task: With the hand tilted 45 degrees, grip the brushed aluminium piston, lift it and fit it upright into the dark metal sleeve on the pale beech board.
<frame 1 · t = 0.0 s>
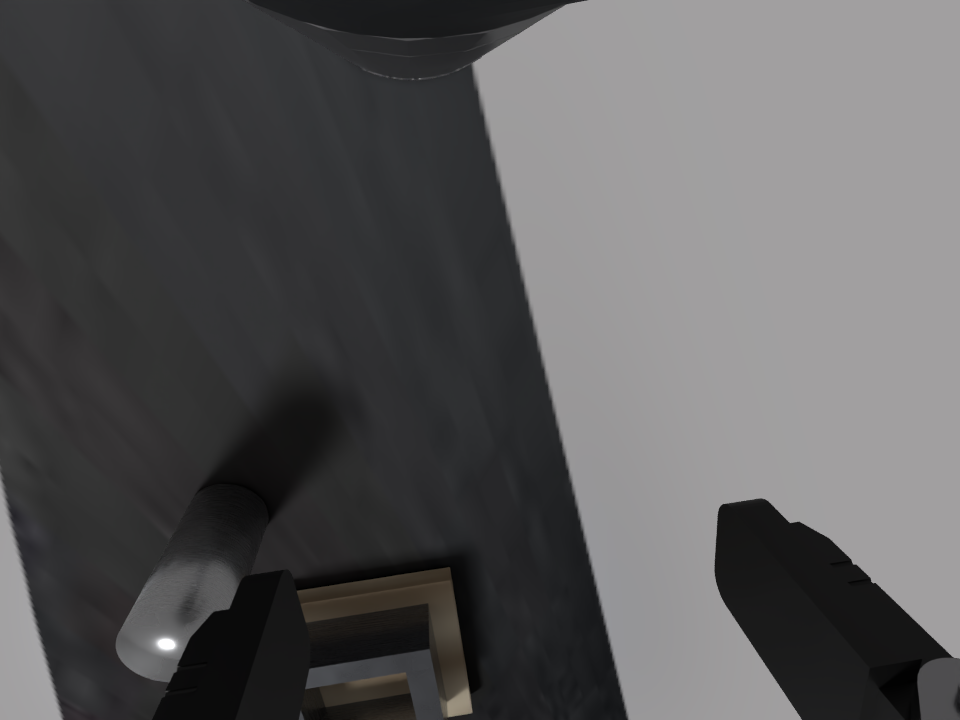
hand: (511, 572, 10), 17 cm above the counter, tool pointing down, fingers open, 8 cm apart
piston: (229, 514, 30), on the counter
sleeve: (364, 667, 34), resting on board
board: (365, 653, 35), on the counter
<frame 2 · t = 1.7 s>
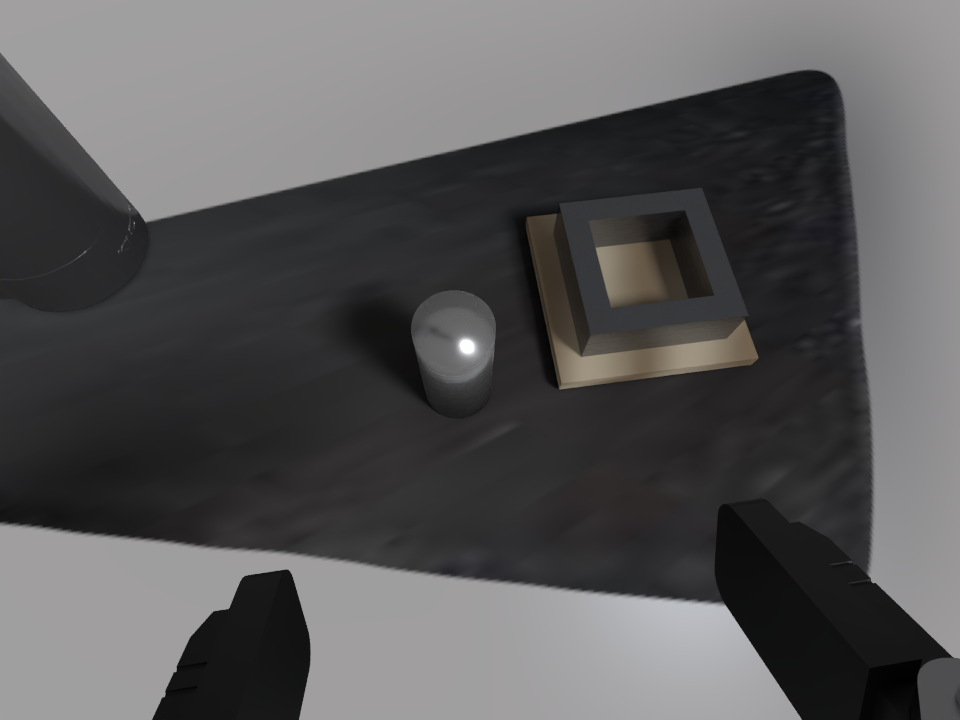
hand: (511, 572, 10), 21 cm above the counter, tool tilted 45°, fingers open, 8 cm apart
piston: (458, 386, 34), on the counter
sleeve: (636, 283, 36), resting on board
board: (632, 291, 37), on the counter
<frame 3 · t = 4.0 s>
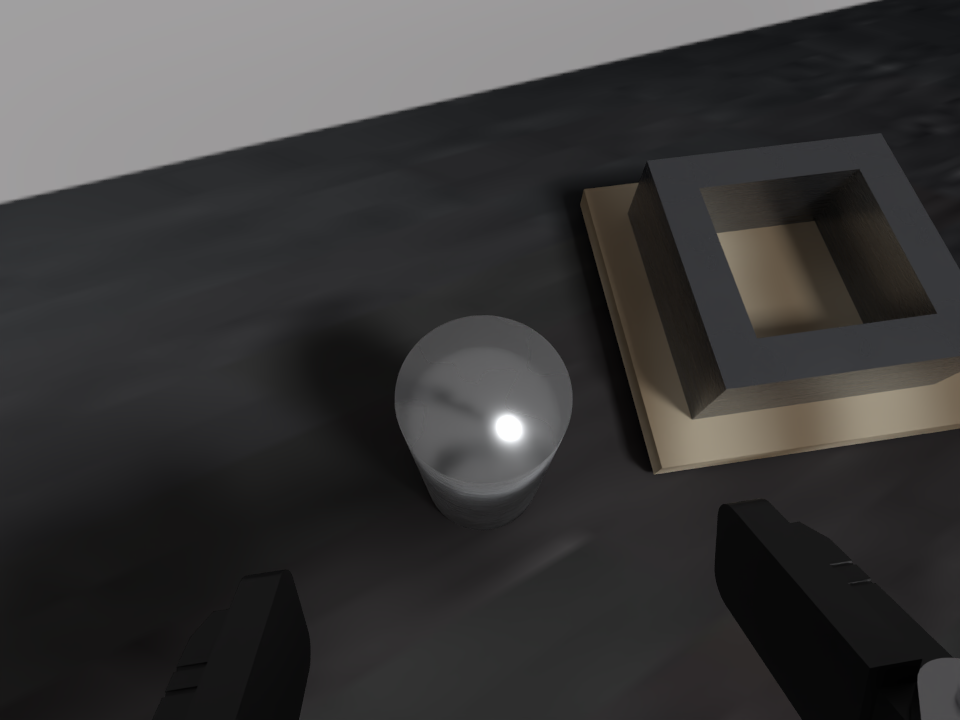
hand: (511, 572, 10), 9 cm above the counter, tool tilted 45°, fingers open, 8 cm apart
piston: (482, 471, 20), on the counter
sleeve: (770, 292, 22), resting on board
board: (758, 305, 23), on the counter
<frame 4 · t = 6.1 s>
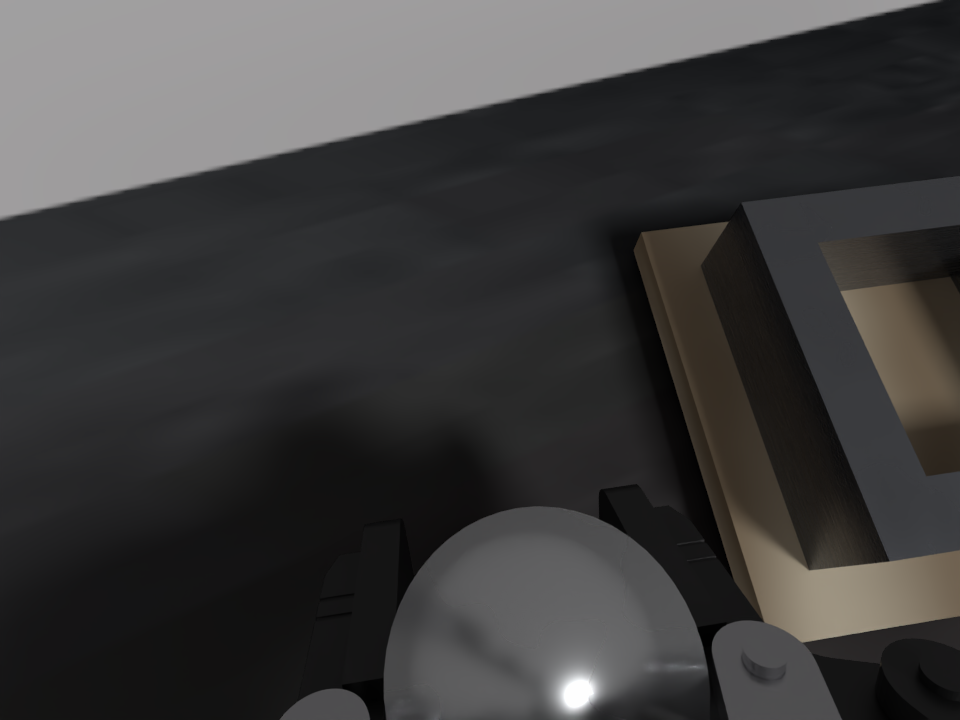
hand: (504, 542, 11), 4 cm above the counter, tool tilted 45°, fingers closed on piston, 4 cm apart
piston: (510, 638, 14), on the counter, touching gripper
sleeve: (901, 379, 16), resting on board
board: (878, 391, 17), on the counter
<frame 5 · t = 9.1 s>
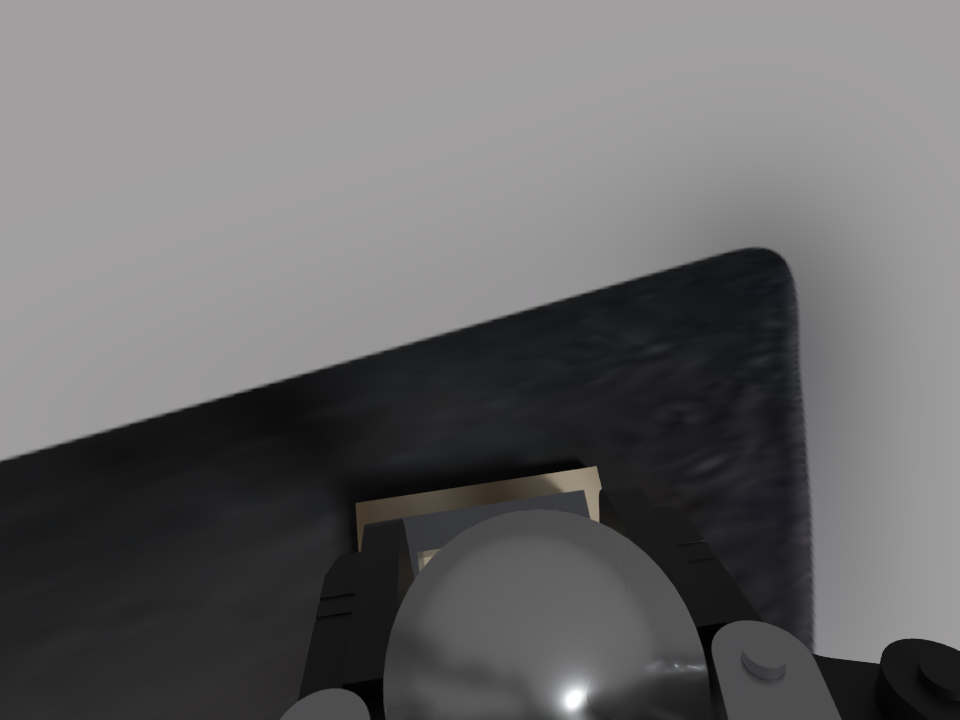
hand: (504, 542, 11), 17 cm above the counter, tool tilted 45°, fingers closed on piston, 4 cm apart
piston: (511, 640, 14), point 13 cm above the counter, touching gripper
sleeve: (497, 616, 25), resting on board
board: (496, 616, 26), on the counter
when the fingers open (6 cm above the counter, at t = 12.0 s): piston drops 1 cm, resting on board.
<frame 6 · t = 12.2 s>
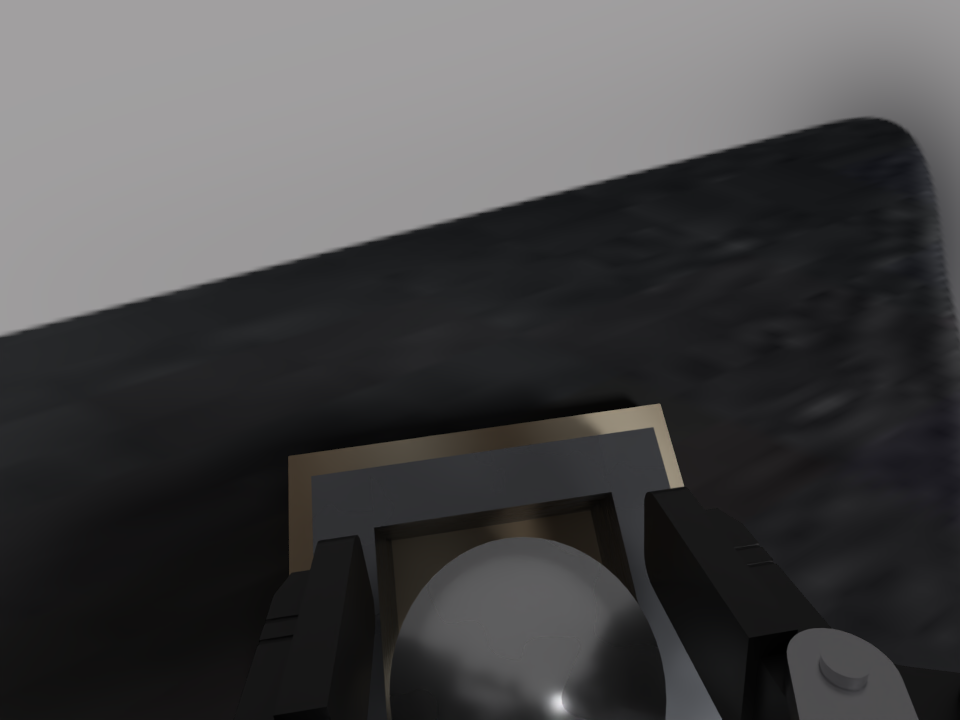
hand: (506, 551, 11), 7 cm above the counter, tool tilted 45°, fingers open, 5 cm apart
piston: (506, 643, 16), point 1 cm above the counter, touching board
sleeve: (508, 636, 16), resting on board
board: (507, 634, 17), on the counter
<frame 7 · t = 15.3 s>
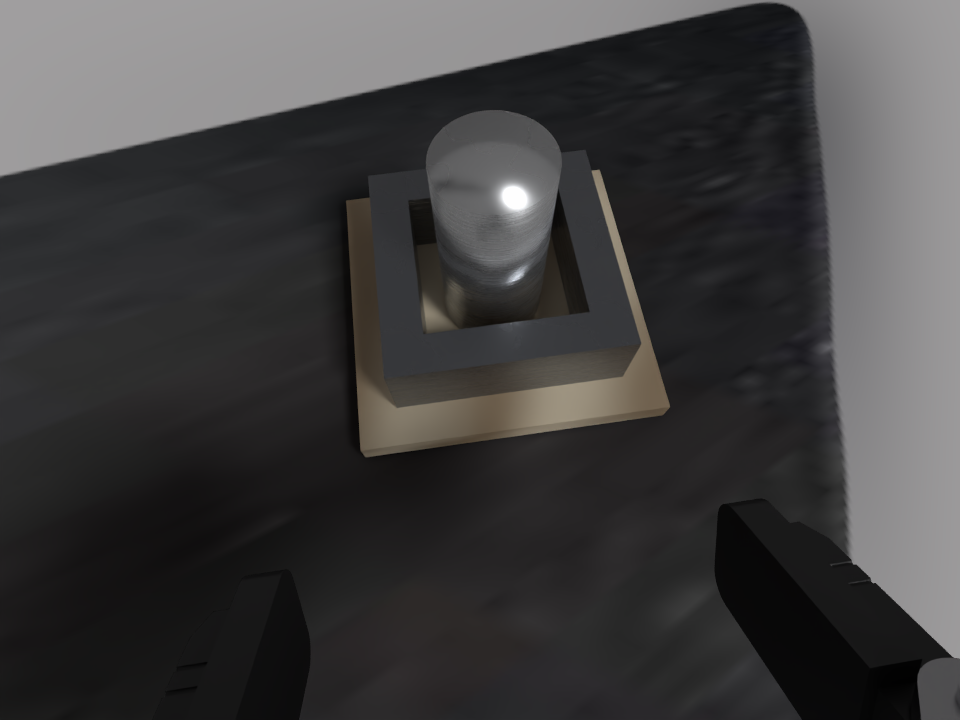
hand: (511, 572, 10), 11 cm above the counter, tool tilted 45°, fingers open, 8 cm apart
piston: (492, 297, 24), point 1 cm above the counter, touching board
sleeve: (493, 294, 24), resting on board
board: (493, 306, 25), on the counter
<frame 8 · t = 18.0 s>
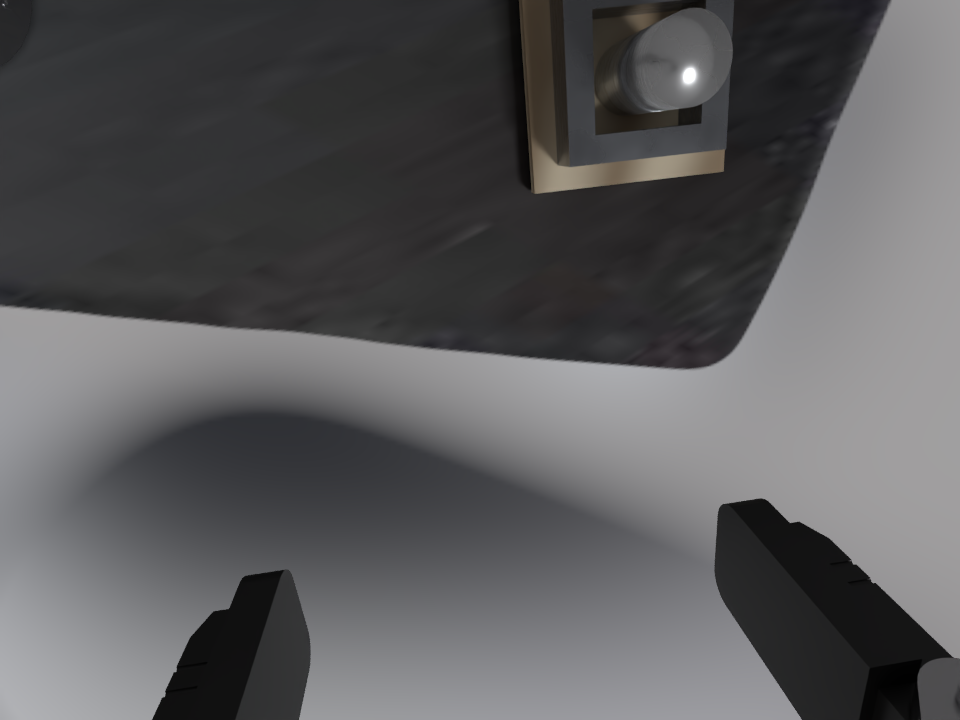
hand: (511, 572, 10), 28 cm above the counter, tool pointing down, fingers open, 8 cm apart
piston: (628, 78, 33), point 1 cm above the counter, touching board
sleeve: (629, 75, 33), resting on board
board: (623, 76, 34), on the counter
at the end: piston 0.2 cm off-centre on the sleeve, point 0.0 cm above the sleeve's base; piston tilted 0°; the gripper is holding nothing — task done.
